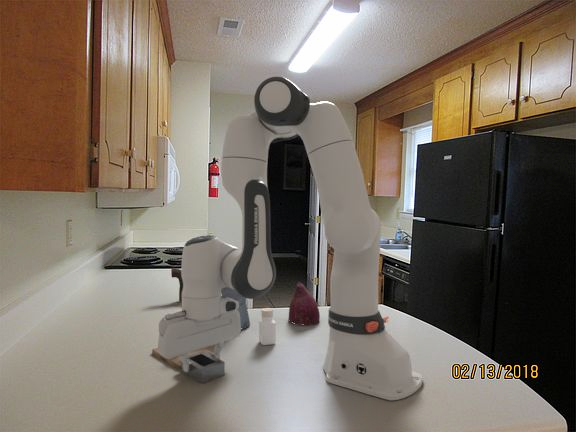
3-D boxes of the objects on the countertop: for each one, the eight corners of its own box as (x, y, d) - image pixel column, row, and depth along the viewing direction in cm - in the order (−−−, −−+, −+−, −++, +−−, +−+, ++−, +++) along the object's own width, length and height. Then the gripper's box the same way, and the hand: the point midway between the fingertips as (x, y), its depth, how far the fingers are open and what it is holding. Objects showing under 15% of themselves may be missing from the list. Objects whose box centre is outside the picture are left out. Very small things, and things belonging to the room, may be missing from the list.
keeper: (215, 357, 97) (215, 334, 96) (179, 370, 90) (179, 344, 89) (186, 343, 106) (186, 321, 106) (152, 353, 99) (151, 330, 99)
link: (224, 374, 87) (224, 361, 87) (201, 383, 83) (201, 370, 83) (202, 362, 93) (202, 350, 93) (180, 370, 89) (180, 358, 89)
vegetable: (303, 337, 120) (298, 295, 116) (283, 324, 128) (277, 284, 124) (327, 322, 126) (323, 282, 122) (306, 311, 134) (301, 273, 130)
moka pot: (208, 330, 117) (208, 265, 116) (238, 316, 130) (237, 259, 130) (234, 335, 112) (233, 268, 112) (261, 321, 126) (261, 261, 125)
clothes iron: (173, 299, 155) (172, 266, 154) (212, 296, 158) (212, 264, 157) (171, 304, 147) (170, 269, 146) (213, 301, 150) (212, 268, 150)
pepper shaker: (271, 339, 109) (271, 306, 109) (276, 344, 105) (276, 310, 105) (258, 341, 108) (258, 308, 107) (262, 346, 104) (262, 312, 104)
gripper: (166, 319, 78) (167, 385, 79) (244, 300, 92) (244, 356, 93) (152, 313, 82) (153, 375, 83) (228, 296, 97) (229, 349, 97)
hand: (202, 365), depth 88 cm, fingers closed on link, 6 cm apart
